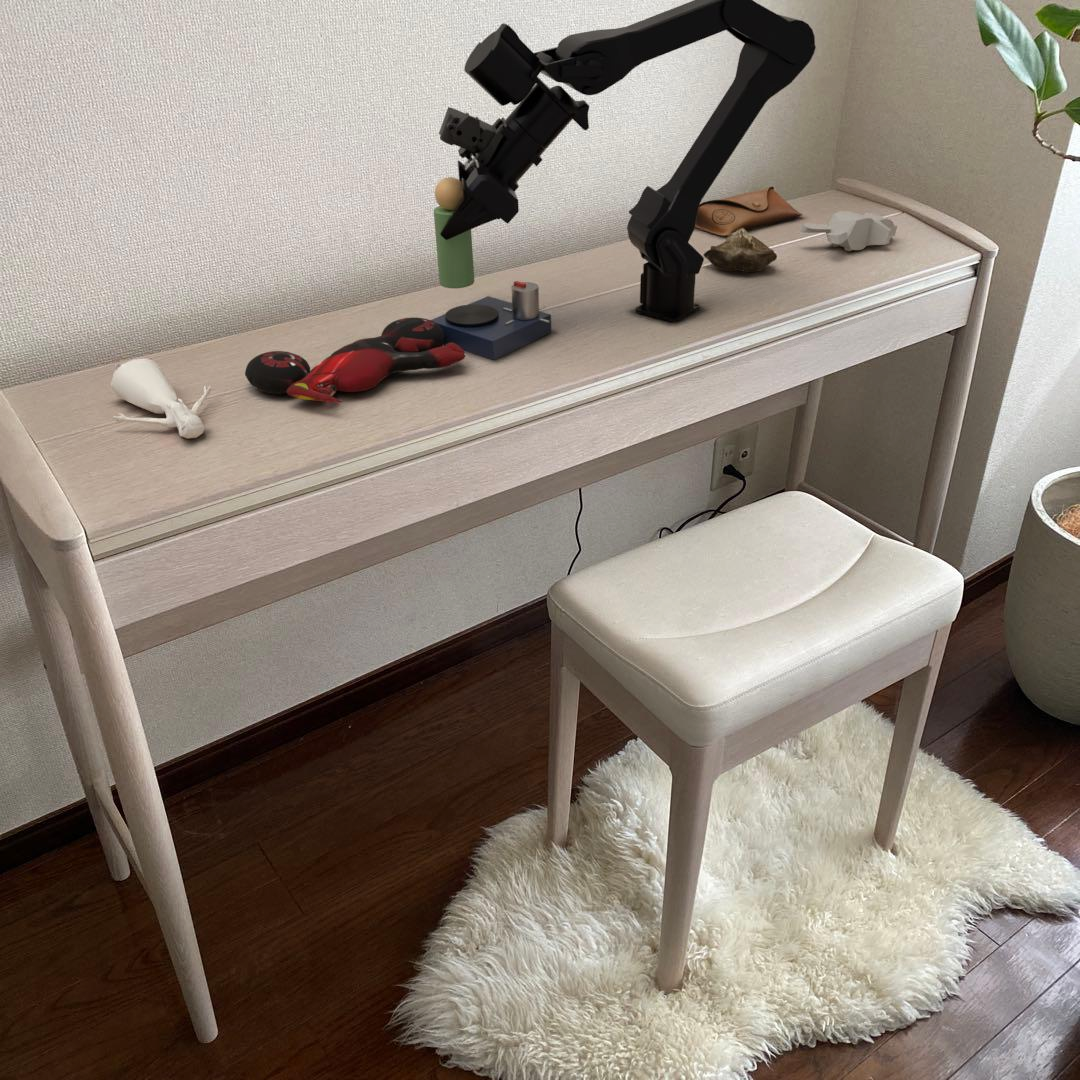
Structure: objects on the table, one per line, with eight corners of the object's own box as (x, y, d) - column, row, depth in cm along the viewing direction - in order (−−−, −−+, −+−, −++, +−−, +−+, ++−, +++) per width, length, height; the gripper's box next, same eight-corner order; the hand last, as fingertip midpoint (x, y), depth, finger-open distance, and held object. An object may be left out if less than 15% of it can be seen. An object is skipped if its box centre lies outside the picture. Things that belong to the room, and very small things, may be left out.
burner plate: (509, 315, 135) (509, 312, 135) (473, 332, 131) (472, 328, 131) (471, 304, 139) (470, 300, 139) (434, 319, 135) (433, 315, 134)
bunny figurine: (914, 219, 160) (842, 224, 153) (905, 253, 163) (835, 260, 156) (868, 205, 167) (797, 209, 160) (860, 237, 170) (791, 243, 163)
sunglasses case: (727, 235, 167) (715, 194, 166) (699, 248, 173) (687, 208, 172) (806, 214, 175) (795, 175, 175) (777, 227, 182) (766, 189, 181)
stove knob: (544, 314, 135) (543, 283, 133) (527, 322, 133) (526, 290, 131) (524, 308, 137) (523, 277, 135) (507, 316, 135) (505, 285, 133)
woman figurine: (171, 338, 125) (243, 396, 115) (177, 372, 128) (249, 432, 117) (73, 366, 119) (140, 430, 108) (82, 401, 122) (149, 467, 111)
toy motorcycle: (241, 391, 126) (285, 422, 114) (232, 349, 124) (276, 375, 112) (429, 349, 138) (488, 373, 125) (424, 310, 135) (483, 330, 123)
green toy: (481, 281, 134) (475, 176, 127) (457, 291, 131) (449, 184, 124) (456, 274, 136) (449, 171, 129) (432, 283, 133) (423, 179, 126)
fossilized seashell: (696, 258, 152) (763, 278, 150) (713, 213, 151) (780, 233, 149) (704, 270, 159) (768, 289, 157) (720, 227, 159) (784, 246, 156)
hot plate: (567, 332, 137) (567, 312, 135) (503, 363, 129) (502, 342, 127) (496, 310, 144) (495, 291, 142) (430, 338, 136) (429, 319, 134)
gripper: (471, 68, 129) (389, 167, 134) (483, 98, 113) (391, 209, 118) (537, 132, 134) (456, 225, 139) (558, 169, 118) (466, 272, 123)
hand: (442, 231), depth 130 cm, fingers closed on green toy, 4 cm apart
